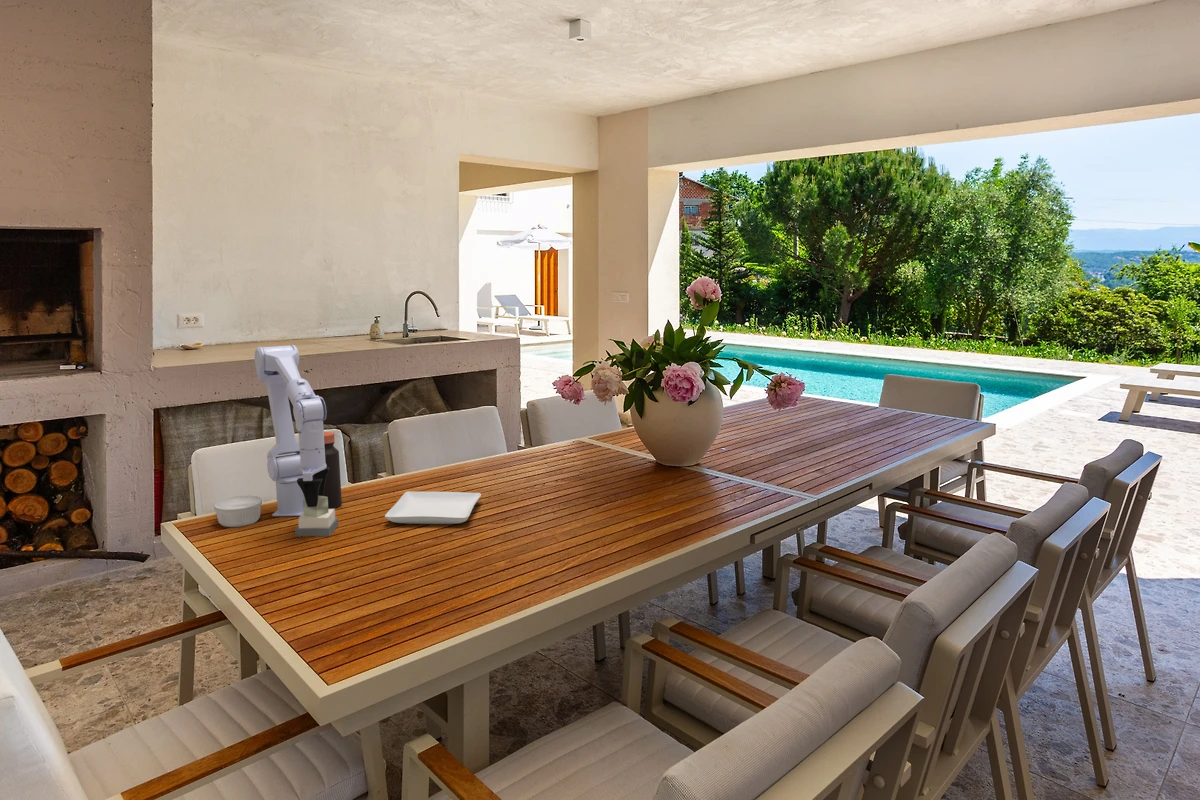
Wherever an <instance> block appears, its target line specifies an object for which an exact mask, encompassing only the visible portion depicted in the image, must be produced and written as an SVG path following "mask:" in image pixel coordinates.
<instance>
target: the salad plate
mask: <svg viewBox="0 0 1200 800" xmlns="http://www.w3.org/2000/svg"><path fill="white" fill-rule="evenodd" d="M481 496H482V494H481V493H480V492H462V491H411V490H410V491H409V490H408V491H405V492H404V493H403V495H402V496H400V498H399V499H398V500H397V501H396V503H394V505H393V506H392V507H391V508H390V509H389V510H388V511H387V513H385V514H384V518H385V519H386V520H388V521H390V522H392V523H397V524H407V525H408V524H409V525H455V524H456V525H458V524H462V523H465V522H466V521H467V520H468V519H469V517H470V515H471V513H472V510H473V509H474V507H475V505H476V504H477V502H478V501H479V500H480V498H481Z"/></svg>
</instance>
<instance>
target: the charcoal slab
mask: <svg viewBox="0 0 1200 800" xmlns="http://www.w3.org/2000/svg"><path fill="white" fill-rule="evenodd" d="M338 526H339V518H338V517H335V519H334V521H333V522H332V524H331V525H330V527H329V528H299V525H297V527H296V528H294V531H295V532H294V533H295V537H296V538H304V536H316V537H330V536H331V535H332V534H333V533H334V531H335V530H336V529H337V528H338ZM301 536H303V537H301Z"/></svg>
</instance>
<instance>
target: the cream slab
mask: <svg viewBox="0 0 1200 800" xmlns="http://www.w3.org/2000/svg"><path fill="white" fill-rule="evenodd" d="M328 512H329V513H326V514H324V515H322V516H319V517H312V516H305V515H304V512H303V514H302V515H301V516H298V520H297V521H298V526H299V528H329V527H330V525H331V524H332V522H333V521H334V519H335V518H336V508H333V509H328Z"/></svg>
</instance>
